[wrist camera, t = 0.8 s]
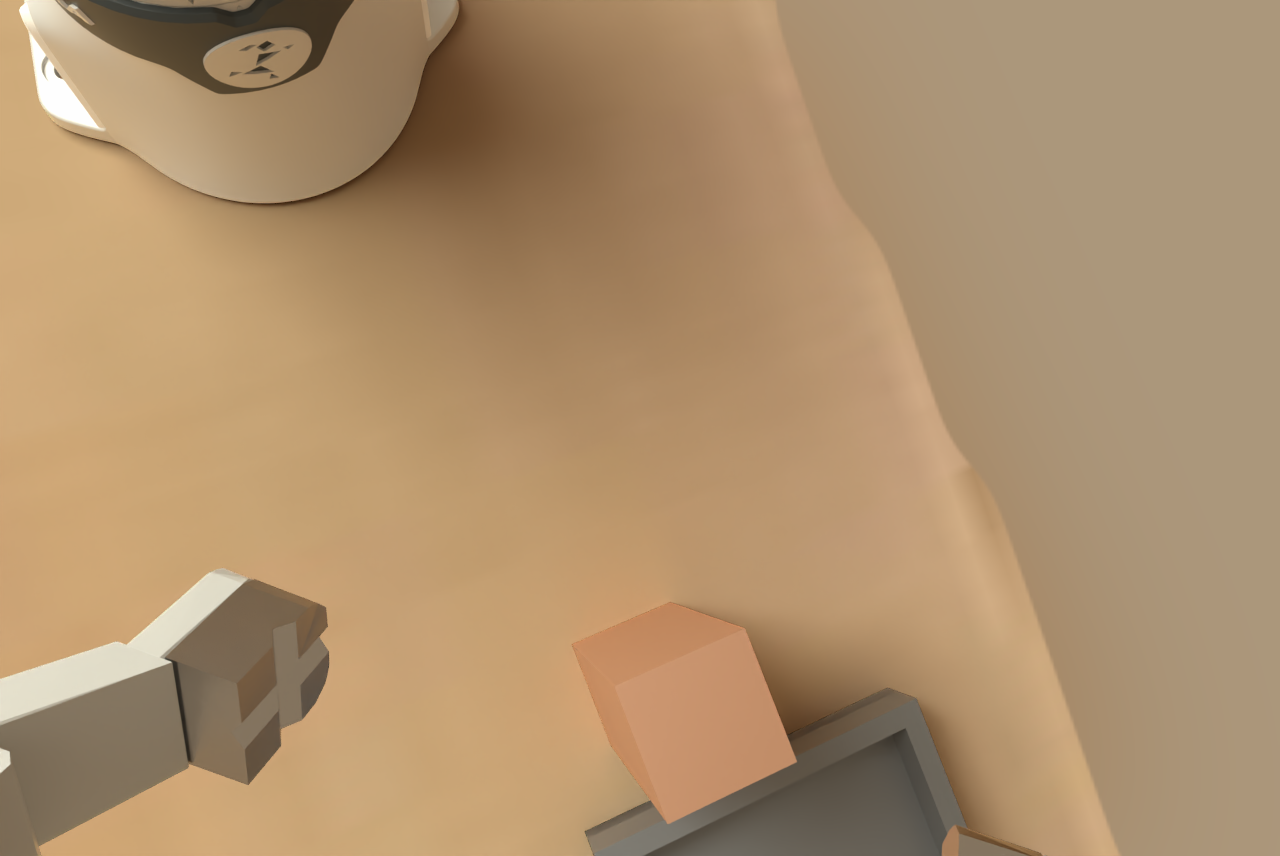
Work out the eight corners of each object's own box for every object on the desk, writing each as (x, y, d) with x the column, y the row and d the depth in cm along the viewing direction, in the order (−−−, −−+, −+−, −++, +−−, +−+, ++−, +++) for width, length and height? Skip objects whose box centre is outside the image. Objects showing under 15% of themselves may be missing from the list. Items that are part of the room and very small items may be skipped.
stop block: (571, 644, 45) (614, 686, 33) (670, 602, 46) (744, 628, 34) (611, 746, 45) (667, 824, 33) (708, 701, 46) (797, 762, 34)
